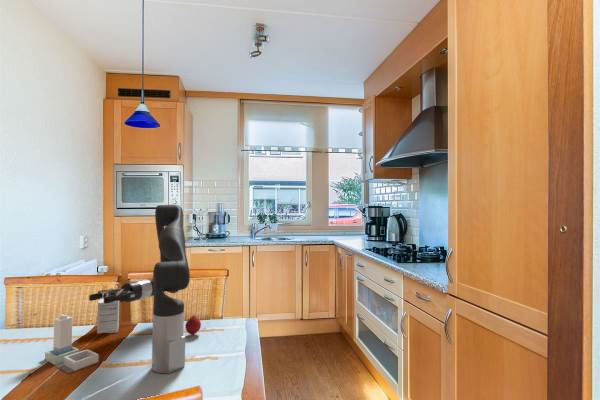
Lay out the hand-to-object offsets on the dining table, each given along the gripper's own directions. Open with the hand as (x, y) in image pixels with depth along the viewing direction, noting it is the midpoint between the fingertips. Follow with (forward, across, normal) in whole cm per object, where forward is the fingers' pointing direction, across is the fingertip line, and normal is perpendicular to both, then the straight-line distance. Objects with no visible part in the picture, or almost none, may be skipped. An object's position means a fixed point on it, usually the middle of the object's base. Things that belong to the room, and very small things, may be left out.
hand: (96, 299), depth 119 cm
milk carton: (+10, -1, +17) cm, 20 cm away
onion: (-26, +21, +18) cm, 38 cm away
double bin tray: (+10, +4, +18) cm, 21 cm away
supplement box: (-13, -12, +17) cm, 25 cm away
